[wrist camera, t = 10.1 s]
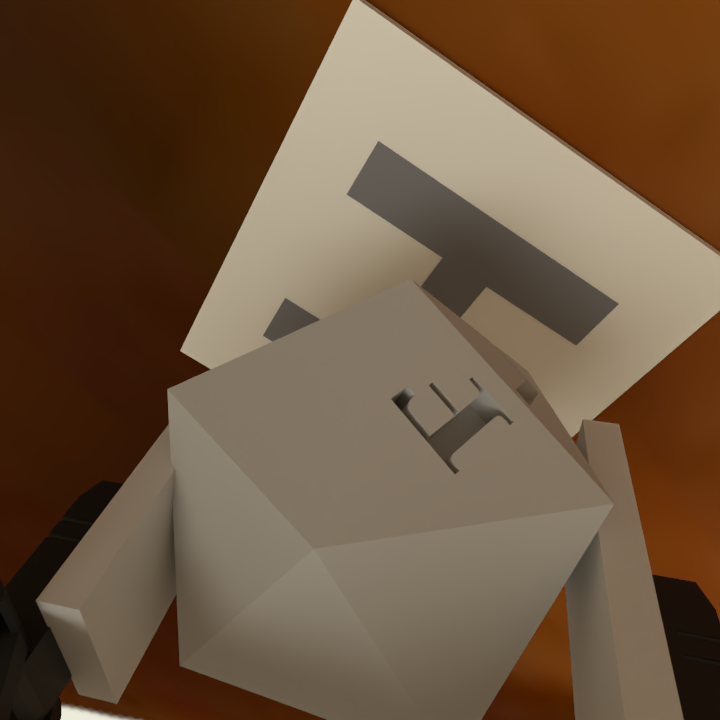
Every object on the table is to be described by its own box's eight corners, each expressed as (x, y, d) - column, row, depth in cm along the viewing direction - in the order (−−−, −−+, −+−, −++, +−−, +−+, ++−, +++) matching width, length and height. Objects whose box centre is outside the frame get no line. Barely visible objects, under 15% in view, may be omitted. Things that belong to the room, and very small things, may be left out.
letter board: (471, 512, 24) (470, 524, 24) (187, 342, 23) (179, 351, 22) (747, 271, 17) (754, 281, 17) (359, -5, 16) (353, -3, 15)
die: (626, 492, 17) (819, 601, 7) (385, 688, 18) (263, 1022, 8) (425, 272, 19) (359, 116, 9) (213, 461, 19) (-61, 510, 10)
